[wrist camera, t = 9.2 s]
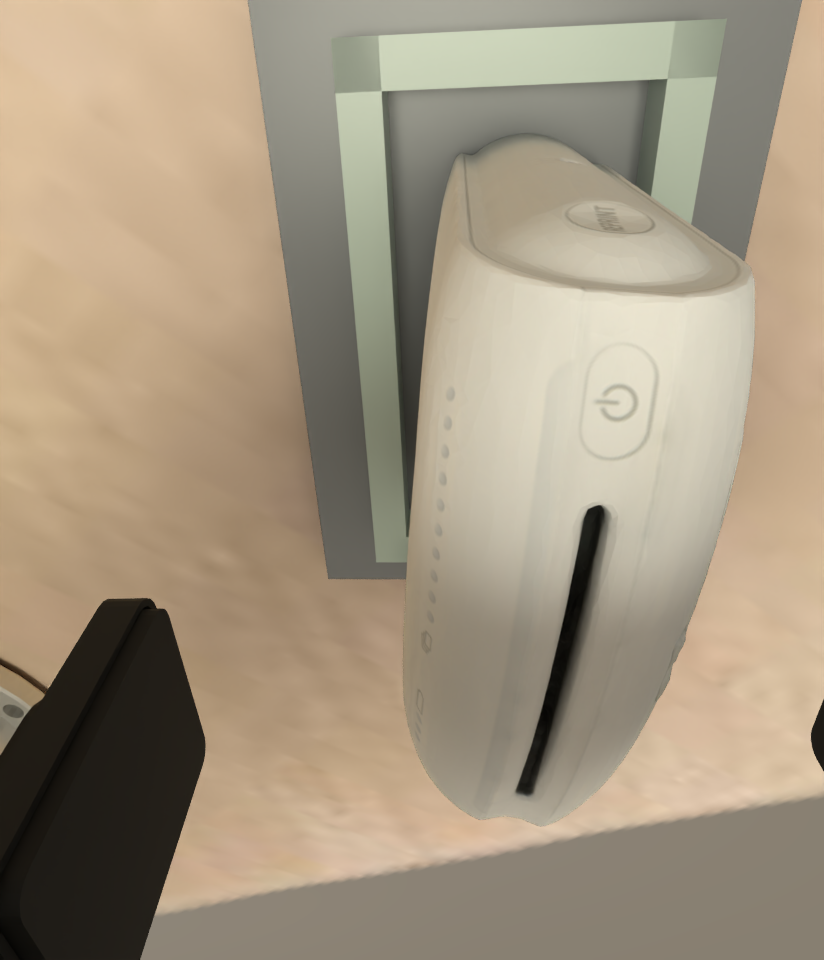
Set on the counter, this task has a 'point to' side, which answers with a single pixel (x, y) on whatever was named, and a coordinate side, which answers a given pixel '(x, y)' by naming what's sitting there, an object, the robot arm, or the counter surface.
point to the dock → (428, 163)
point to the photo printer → (562, 471)
